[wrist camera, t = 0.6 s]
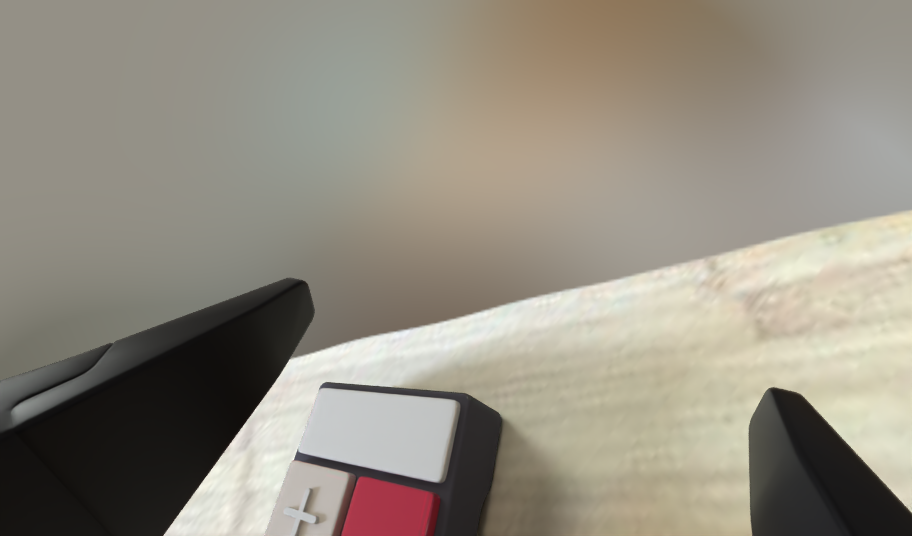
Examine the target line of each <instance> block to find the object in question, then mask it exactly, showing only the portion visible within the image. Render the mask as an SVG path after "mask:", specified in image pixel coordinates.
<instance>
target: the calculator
mask: <svg viewBox="0 0 912 536" xmlns="http://www.w3.org/2000/svg"><path fill="white" fill-rule="evenodd" d="M500 426H501V416H500V414H499V413H498V412H496V411H495V410H493V409H492V408H490V407H488V406H487V405H485V404H483V403H482V402H480V401H478V400H477V399H475V398H473V397H472V396H470V395H468V394H465V393H456V392H444V391H431V390H419V389H406V388H394V387H381V386H369V385H356V384H344V383H331V382H326V383H323V384H322V385H321V386H320V388H319V391H318V393H317V396H316V399H315V402H314V405H313V407H312V410H311V413H310V416H309V419H308V421H307V424H306V427H305V430H304V433H303V436H302V438H301V441H300V444H299V447H298V450H297V453H296V456H295V458H294V460H293V461H292V462H291V463H290V465H289V467H288V470H287V473H286V476H285V478H284V481H283V484H282V487H281V490H280V492H279V495H278V498H277V501H276V504H275V506H274V509H273V512H272V515H271V518H270V520H269V523H268V526H267V529H266V532H265V534H264V536H477V530H478V524H479V518H480V512H481V507H482V504H483V502H484V500H485V498H486V496H487V493H488V491H489V489H490V487H491V481H492V475H493V469H494V463H495V457H496V451H497V445H498V438H499V432H500Z"/></svg>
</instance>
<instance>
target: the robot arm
mask: <svg viewBox="0 0 912 536" xmlns="http://www.w3.org/2000/svg"><path fill="white" fill-rule="evenodd" d="M314 313H315V309H314V305H313V301H312V298H311V294H310V290H309V287H308V284H307V283H306V282H305V281H303V280H299V279H294V278H286V279H283V280H280V281H278V282H275V283H272V284H269V285H267V286H264V287H261V288H259V289H256V290H253V291H250V292H248V293H245V294H242V295H240V296H237V297H234V298H231V299H229V300H226V301H223V302H221V303H218V304H215V305H213V306H210V307H207V308H204V309H202V310H199V311H196V312H193V313H191V314H188V315H185V316H183V317H180V318H177V319H175V320H172V321H169V322H166V323H164V324H161V325H158V326H156V327H153V328H150V329H147V330H145V331H142V332H139V333H136V334H134V335H131V336H128V337H126V338H123V339H120V340H117V341H115V342H114V343H109V344H106V345H104V346H101V347H99V348H95V349H93V350H90V351H87V352H84V353H82V354H79V355H76V356H73V357H70V358H67V359H65V360H62V361H59V362H56V363H53V364H50V365H47V366H44V367H41V368H38V369H35V370H32V371H29V372H26V373H22V374H19V375H16V376H13V377H10V378H7V379H4V380H0V536H163V535H164V534H165V532H166V531H167V530H168V528H169V527H170V525H171V524H172V523H173V521H174V520H175V519H176V517H177V516H178V515H179V513H180V512H181V510H182V509H183V508H184V506H185V505H186V504H187V502H188V501H189V499H190V498H191V497H192V495H193V494H194V493H195V491H196V490H197V488H198V487H199V486H200V484H201V483H202V482H203V480H204V479H205V477H206V476H207V475H208V473H209V472H210V471H211V469H212V468H213V466H214V465H215V464H216V462H217V461H218V460H219V458H220V457H221V455H222V454H223V453H224V451H225V450H226V449H227V447H228V446H229V445H230V443H231V442H232V440H233V439H234V438H235V436H236V435H237V434H238V432H239V431H240V429H241V428H242V427H243V425H244V424H245V423H246V421H247V420H248V418H249V417H250V416H251V414H252V413H253V412H254V410H255V409H256V407H257V406H258V405H259V403H260V402H261V401H262V399H263V398H264V396H265V395H266V394H267V392H268V391H269V390H270V388H271V387H272V385H273V384H274V383H275V381H276V380H277V378H278V377H279V375H280V374H281V372H282V371H283V369H284V368H285V366H286V364H287V363H288V361H289V359H290V357H291V356H292V354H293V352H294V351H295V349H296V347H297V346H298V344H299V342H300V340H301V339H302V337H303V335H304V334H305V332H306V330H307V328H308V327H309V325H310V323H311V322H312V320H313V317H314ZM749 476H750V515H751V527H752V536H912V513H911V512H910V511H909V510H908V508H907V507H906V506H905V505H904V504H903V503H902V502H901V501H900V500H899V499H898V498H897V497H896V496H895V494H894V493H893V492H892V491H891V490H890V489H889V488H888V487H887V486H886V485H885V484H884V483H883V482H882V480H881V479H880V478H879V477H878V476H877V475H876V474H875V473H874V472H873V471H872V470H871V469H870V468H869V467H868V465H867V464H866V463H865V462H864V461H863V460H862V459H861V458H860V457H859V456H858V455H857V454H856V453H855V451H854V450H853V449H852V448H851V447H850V446H849V445H848V444H847V443H846V442H845V441H844V440H843V439H842V437H841V436H840V435H839V434H838V433H837V432H836V431H835V430H834V429H833V428H832V427H831V426H830V425H829V424H828V422H827V421H826V420H825V419H824V418H823V417H822V416H821V415H820V414H819V413H818V412H817V411H816V410H815V408H814V407H813V406H812V405H811V404H810V403H809V402H808V401H807V400H806V399H805V398H804V397H803V396H802V395H801V394H799V393H796V392H793V391H788V390H784V389H780V388H775V387H773V388H769V389H768V390H767V391H766V392H765V393H764V395H763V397H762V399H761V401H760V403H759V405H758V407H757V408H756V410H755V412H754V414H753V416H752V418H751V421H750V425H749Z"/></svg>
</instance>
